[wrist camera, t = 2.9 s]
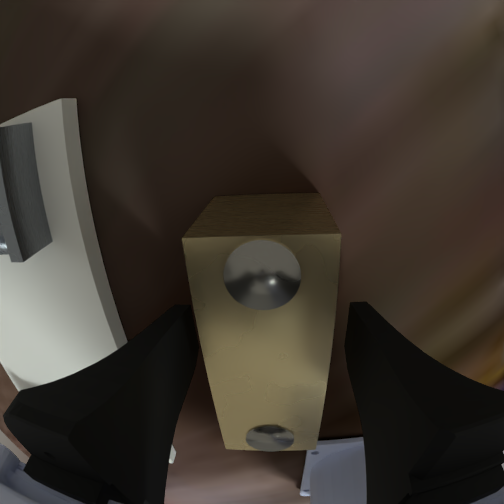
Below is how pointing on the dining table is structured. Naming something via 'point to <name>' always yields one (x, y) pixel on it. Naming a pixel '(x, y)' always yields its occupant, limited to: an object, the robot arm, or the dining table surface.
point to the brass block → (265, 314)
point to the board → (58, 268)
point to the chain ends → (21, 196)
